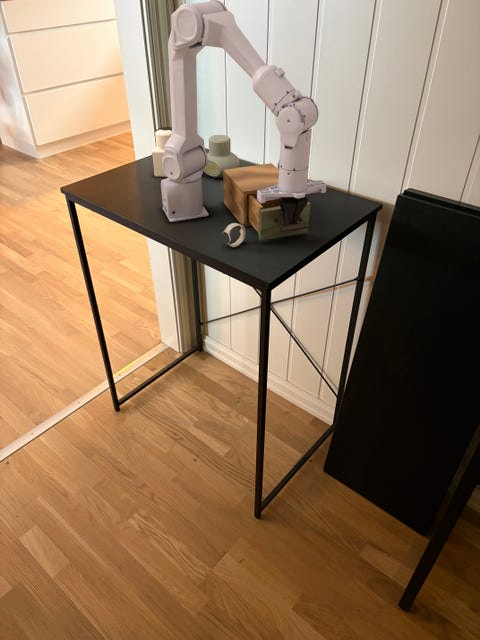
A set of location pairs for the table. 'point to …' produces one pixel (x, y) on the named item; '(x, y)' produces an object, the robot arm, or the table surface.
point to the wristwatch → (227, 235)
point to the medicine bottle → (160, 149)
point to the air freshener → (220, 156)
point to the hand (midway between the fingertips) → (289, 228)
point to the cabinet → (246, 187)
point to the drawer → (273, 219)
